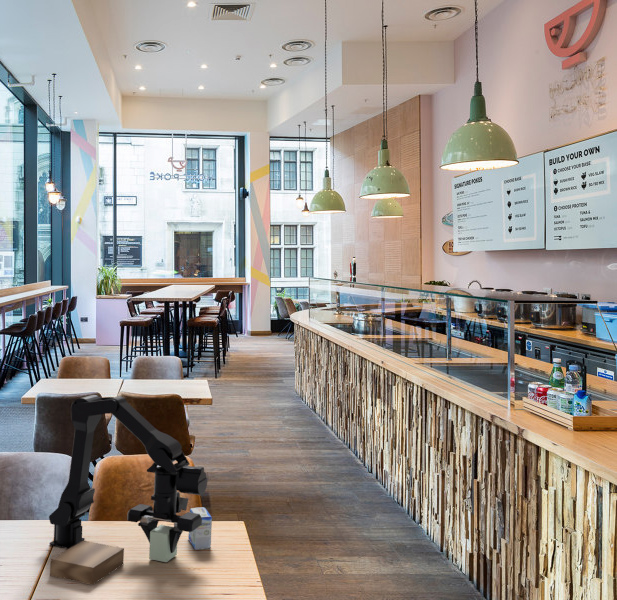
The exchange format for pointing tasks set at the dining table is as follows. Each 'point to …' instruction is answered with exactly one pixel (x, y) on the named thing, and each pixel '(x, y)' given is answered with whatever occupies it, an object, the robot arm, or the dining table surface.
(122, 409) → the robot arm
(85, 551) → the walnut base
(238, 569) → the dining table surface
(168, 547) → the sage block
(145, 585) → the dining table surface
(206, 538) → the medicine box
